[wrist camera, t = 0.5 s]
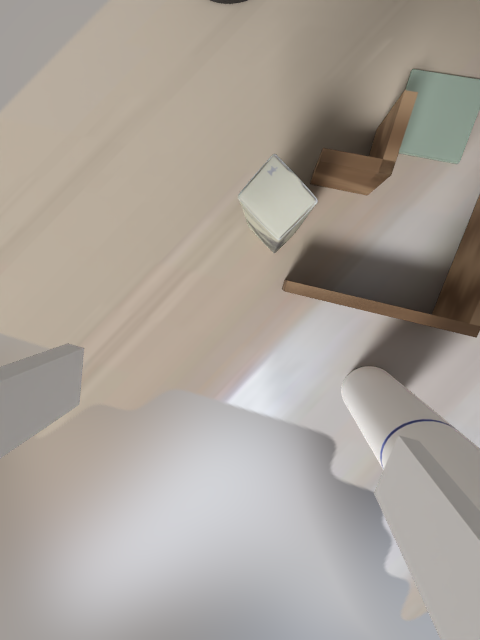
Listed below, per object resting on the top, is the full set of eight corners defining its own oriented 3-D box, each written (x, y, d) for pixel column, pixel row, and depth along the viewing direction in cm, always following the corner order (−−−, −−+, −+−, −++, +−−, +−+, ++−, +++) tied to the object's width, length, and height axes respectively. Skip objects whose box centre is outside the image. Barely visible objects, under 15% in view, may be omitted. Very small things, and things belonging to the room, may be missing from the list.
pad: (411, 71, 27) (412, 69, 26) (487, 83, 26) (489, 81, 26) (385, 150, 28) (387, 149, 28) (457, 164, 28) (459, 162, 27)
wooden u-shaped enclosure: (326, 120, 28) (341, 79, 23) (508, 152, 27) (575, 117, 21) (282, 288, 32) (284, 291, 27) (437, 325, 31) (476, 337, 25)
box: (247, 226, 32) (231, 194, 19) (272, 200, 31) (272, 147, 18) (275, 255, 32) (278, 242, 19) (300, 230, 31) (320, 199, 18)
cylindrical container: (357, 357, 33) (606, 592, 8) (406, 380, 32) (814, 693, 8) (331, 400, 34) (479, 705, 10) (378, 422, 34) (650, 794, 10)
